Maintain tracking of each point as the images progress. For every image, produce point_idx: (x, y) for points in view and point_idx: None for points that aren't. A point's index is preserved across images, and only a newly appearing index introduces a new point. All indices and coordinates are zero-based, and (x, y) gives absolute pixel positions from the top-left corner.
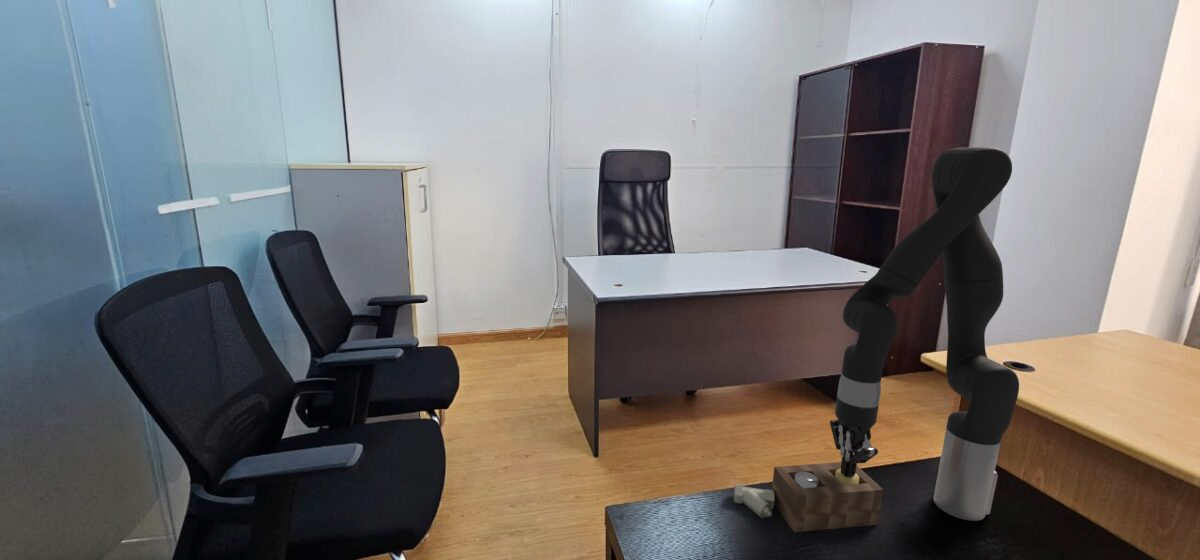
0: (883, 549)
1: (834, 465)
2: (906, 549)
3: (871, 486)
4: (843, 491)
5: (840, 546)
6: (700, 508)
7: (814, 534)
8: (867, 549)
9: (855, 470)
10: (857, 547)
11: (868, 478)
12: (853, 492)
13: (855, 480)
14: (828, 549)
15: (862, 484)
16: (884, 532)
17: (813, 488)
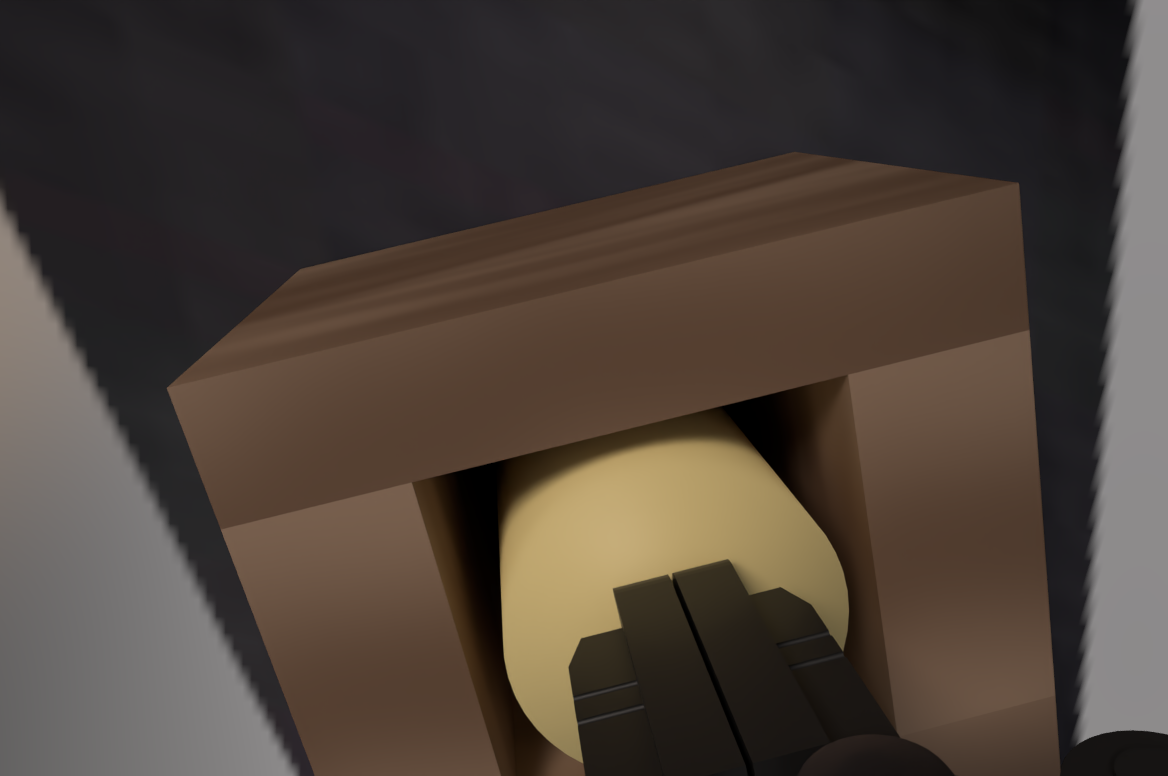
0: (1107, 244)
1: (379, 719)
2: (1123, 23)
3: (929, 343)
4: (1036, 766)
5: (1051, 575)
6: None
7: None
8: (1096, 380)
9: (840, 651)
10: (1070, 452)
11: (711, 304)
12: (1043, 640)
13: (825, 560)
14: (1075, 666)
15: (878, 463)
16: (899, 132)
17: None
